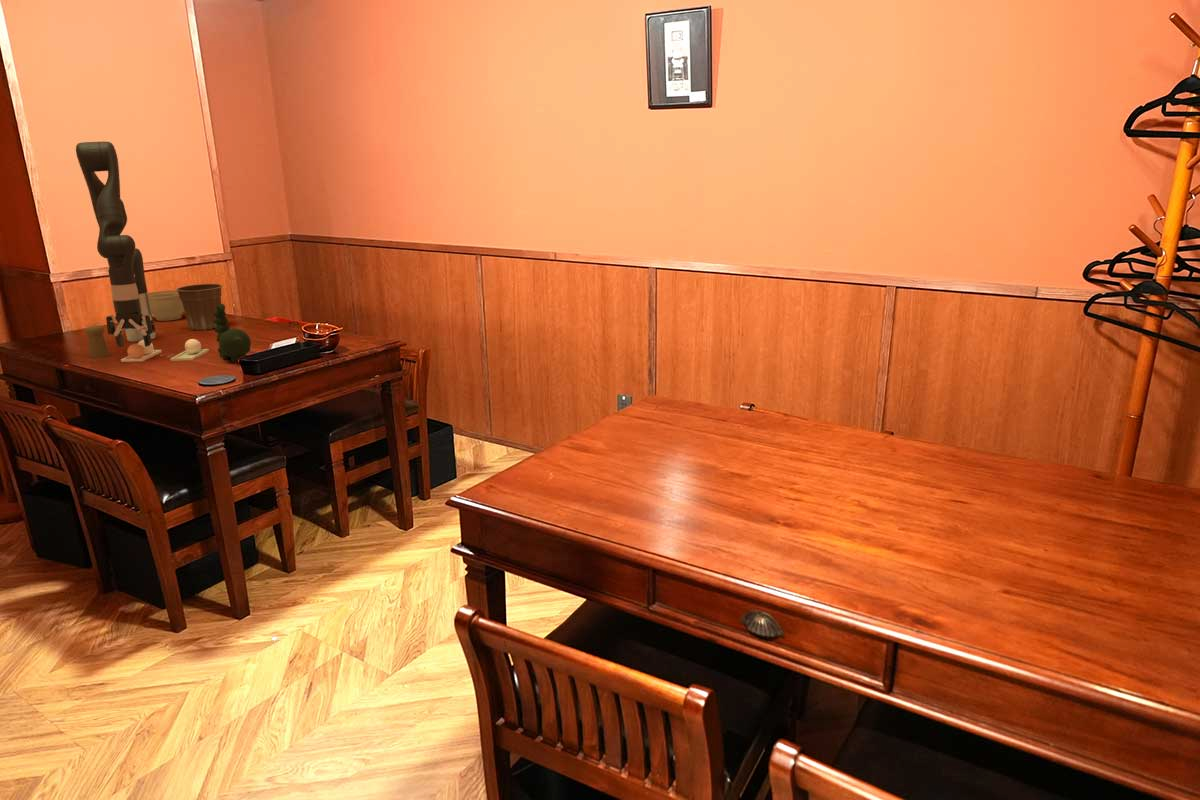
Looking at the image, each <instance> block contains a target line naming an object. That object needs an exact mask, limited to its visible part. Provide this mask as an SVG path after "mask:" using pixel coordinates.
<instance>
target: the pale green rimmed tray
mask: <svg viewBox="0 0 1200 800" xmlns="http://www.w3.org/2000/svg"><path fill="white" fill-rule="evenodd" d="M208 352H210V349H209V348H203V349H202V348H201V349H200V351H199V352H198V353H195V354H191V353H189V352H187V351H186V350H184V351H182V352H180V353H178V354H175V355H173V356H171V357H169V358H170V361H171V362H173V361H174V362H175V361H179V362H181V361H193V360H195V359H197V358H198V357H201V356H202V355H204V354H207V353H208Z"/></svg>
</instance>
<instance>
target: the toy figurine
mask: <svg viewBox="0 0 1200 800" xmlns="http://www.w3.org/2000/svg"><path fill="white" fill-rule="evenodd" d="M216 309H217V310H216V311H215V312H214V313H213V315H214V316H215V317H216V318H215V320H214V321H213V322H214V323H215V324H216V325H217V327H216V328H215V329H214V330H213V331H214V332H215V333H217V334H216V335H217V336H216V342H218V348H217V352H218V353H219V357H220V358H221V359H223V360H226V361H227V360H229V359H231V362H232V363H236V364H240V363H239V362H238V359H239V358H240V357H243V356H245V357H246V355H247V353H249V352H250V351H251V347H252V342H251V341H252V340H251V337H250V336H249V334H247V332H246V331H244V330H242V329H240V328H231V327H230V326H229V324H228V318H227V316H226V315H227V313H226V305H225V304H224V303H221V304H218V305H217V307H216Z"/></svg>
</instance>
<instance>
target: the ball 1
mask: <svg viewBox="0 0 1200 800" xmlns="http://www.w3.org/2000/svg"><path fill="white" fill-rule="evenodd" d="M126 352H127V356H130V357H131V358H133V359H139V358H141V357H143V355H144V353H145V350H144V348H143V347H142V346H141V345H139V344H138V343H132V344H130V345H129V346H128V347H127V351H126Z"/></svg>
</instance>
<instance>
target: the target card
mask: <svg viewBox="0 0 1200 800" xmlns="http://www.w3.org/2000/svg"><path fill="white" fill-rule="evenodd" d="M174 356H175V354H174V353H171V354H169V355H167V356H166V358H172V357H174ZM161 357H164V355H163V354H160V355H159V358H161Z"/></svg>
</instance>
